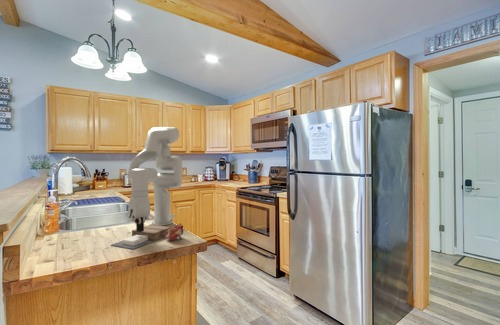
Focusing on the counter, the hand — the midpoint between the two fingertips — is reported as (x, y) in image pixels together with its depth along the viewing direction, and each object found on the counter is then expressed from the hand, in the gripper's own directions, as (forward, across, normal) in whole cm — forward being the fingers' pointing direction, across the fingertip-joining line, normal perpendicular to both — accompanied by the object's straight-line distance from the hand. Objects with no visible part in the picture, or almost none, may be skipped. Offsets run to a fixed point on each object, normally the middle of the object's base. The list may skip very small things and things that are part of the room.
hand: (140, 231), depth 126 cm
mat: (+5, +5, 0) cm, 7 cm away
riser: (+5, -8, 0) cm, 9 cm away
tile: (+4, +3, 0) cm, 5 cm away
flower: (+5, -8, +15) cm, 17 cm away
